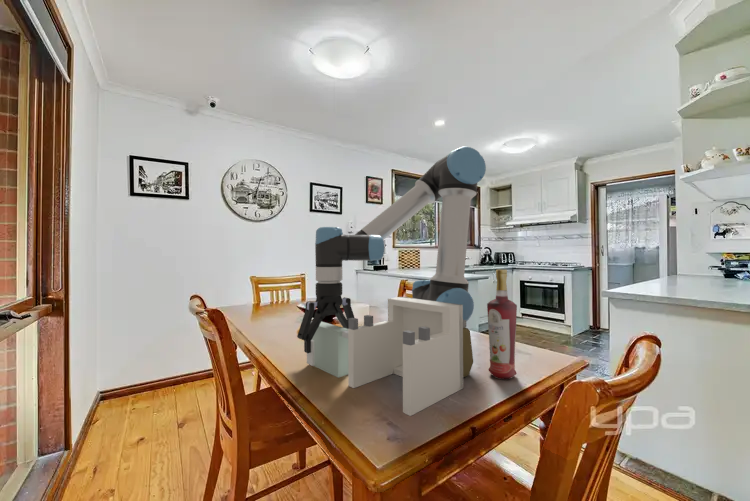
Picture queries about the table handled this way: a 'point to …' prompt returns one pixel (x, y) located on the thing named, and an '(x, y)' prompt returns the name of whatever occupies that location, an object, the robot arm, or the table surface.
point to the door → (331, 349)
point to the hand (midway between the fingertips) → (329, 359)
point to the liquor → (502, 330)
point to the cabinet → (410, 350)
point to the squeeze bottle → (467, 351)
